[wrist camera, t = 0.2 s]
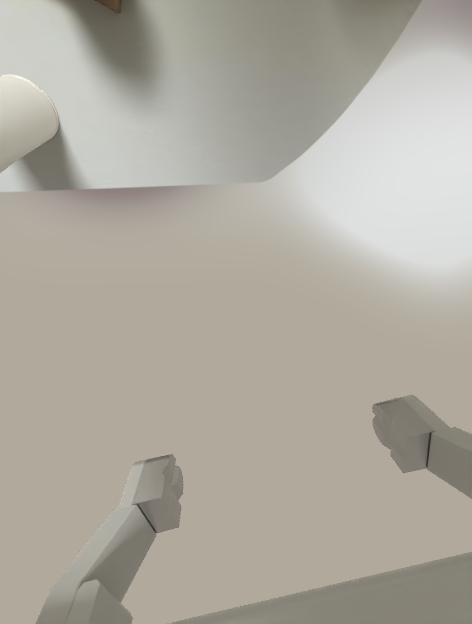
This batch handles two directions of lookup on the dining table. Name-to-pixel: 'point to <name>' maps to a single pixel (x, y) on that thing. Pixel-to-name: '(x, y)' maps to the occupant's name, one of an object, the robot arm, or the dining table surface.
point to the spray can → (23, 118)
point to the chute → (111, 4)
